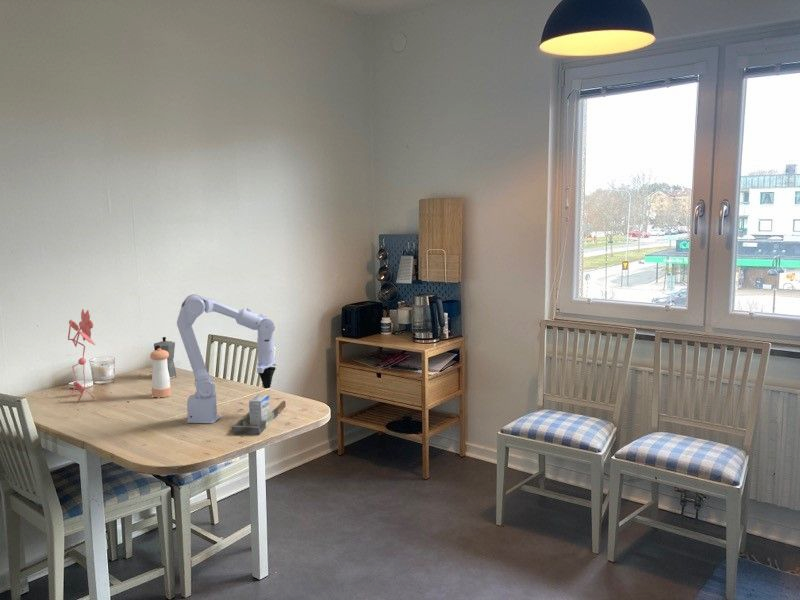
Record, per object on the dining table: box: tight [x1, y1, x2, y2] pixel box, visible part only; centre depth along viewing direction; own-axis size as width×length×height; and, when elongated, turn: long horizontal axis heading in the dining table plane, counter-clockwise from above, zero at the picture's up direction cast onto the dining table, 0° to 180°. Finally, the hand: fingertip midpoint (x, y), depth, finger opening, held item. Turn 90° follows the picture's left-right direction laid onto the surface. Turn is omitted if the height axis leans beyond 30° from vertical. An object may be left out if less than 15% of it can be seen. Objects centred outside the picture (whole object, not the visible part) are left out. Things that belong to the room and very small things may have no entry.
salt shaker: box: [149, 348, 172, 398], centre depth 256 cm, size 7×7×19 cm
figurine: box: [67, 309, 96, 402], centre depth 254 cm, size 15×26×35 cm, turn 43°
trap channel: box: [232, 400, 287, 436], centre depth 226 cm, size 9×30×2 cm, turn 173°
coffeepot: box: [153, 336, 177, 377], centre depth 284 cm, size 15×9×18 cm, turn 175°
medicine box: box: [248, 394, 271, 426], centre depth 224 cm, size 8×4×9 cm, turn 170°
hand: (267, 387), depth 233 cm, fingers closed
